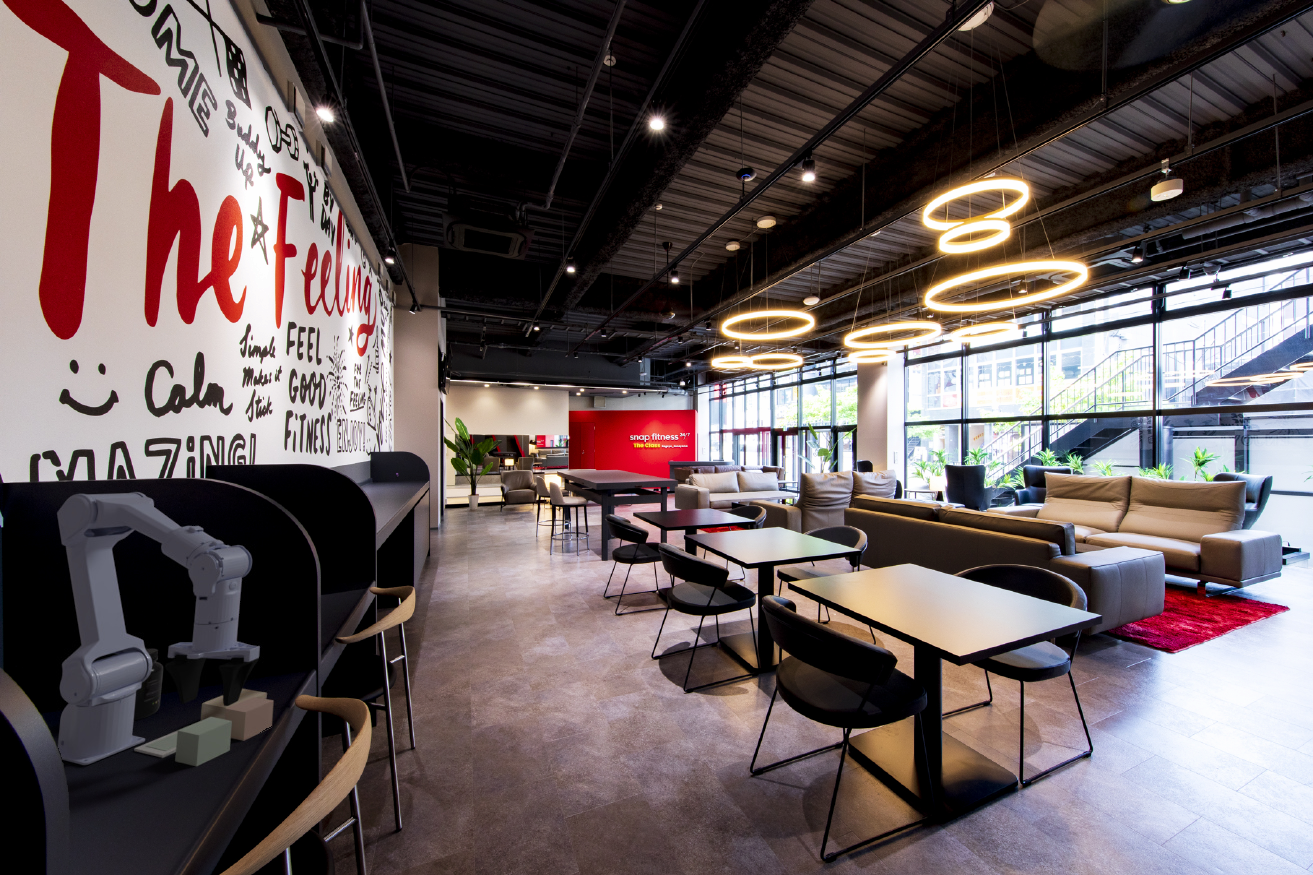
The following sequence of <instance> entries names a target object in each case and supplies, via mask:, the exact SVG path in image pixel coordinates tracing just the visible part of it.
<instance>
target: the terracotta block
mask: <svg viewBox="0 0 1313 875" xmlns="http://www.w3.org/2000/svg"><path fill="white" fill-rule="evenodd" d="M274 701H275V700H273V699H267V698H266V699H263V698H257V697H252V698H250V699H247V700H245V701H243V702H240V703H238V704H235V705H233V706H230V707H228V708H226V709H225V720H229V721H232V727H231V739H234V740H239V741H244V742H245V741H246V740H249V739H250V738H252V737H254V736H256V735H258V734H261V733H263V732H264V731H263V730H265V729H266V728H269V727H271V726H272V727H273V714H274ZM272 727H271V728H272ZM269 729H270V728H269ZM262 731H263V732H262ZM265 731H266V730H265ZM260 732H261V733H260Z"/></svg>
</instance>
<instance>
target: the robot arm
mask: <svg viewBox="0 0 1313 875" xmlns="http://www.w3.org/2000/svg"><path fill="white" fill-rule="evenodd" d="M154 506H155V501H154V499H152V498H151V497H148V496H146V494H144V493H142V492H138V491H133V492H129V493H125V492H124V493H122V492H121V493H97V494H93V493H92V494H86V493H76V494H73V495H71V496H69V497H68V498H67V499H66V500H65V501H64V503H63V504H62V506H61V507H60V508H59V510H57V512H56V515H57V520H58V528H59V534H60V540H61V545H62V546H65V550H66V551H65V552H66V556H67V557H66V558H67V563H68V568H69V574H70V581H71V588H72V593H73V594H72V595H73V599H74V601H73V602H74V605H75V606H74V608H75V612H76V613H75V614H76V619H77V624H78V632H79V637H80V644H81V645H80V646H79V647H78V648H77V649H76V650H75V651H74V652H73V653H72V654H71V655H69V656H68V657H67V658H66V659H65V660H64V661H62V664H61V669H62V673H61V674H62V675H61V680H60V684H59V691H60V692H59V693H60V696H61V697H62V699H63V700H64V701H66V703H68V704H67V705H66V706H65V707H64V709H63V711H62V713H61V715H60V722H59V732H58V741H57V749H58V748H59V751H60V753H61V757H62V759H61V760H63V761H67V762H70V763H74V764H76V765H77V764H78V765H82V766H87V765H90V764H93V763H96V762H97V761H100V760H102V759H105V758H107V757H111V756H112V755H115V754H117V753H120V752H122V751H125V750H127V749H129V748H132V747H134V746H137V745H140V744H142V743H145V741H146V738H144V737H140V736H137V735H133V728H134V721H133V720H134V708H135V697H136V690H138V689H140V688H141V684H142V682H143V681H145V680H146V679H147V678H148V677H149V675H150V673H151V670H152V659H151V657H150V655H149V654H148V652H147V651H146V649H147V648H146V647H145V642H144V640H143V639H141V637H140V638H139V637H137V636H134V635H131V634H129V633H127V629H126V625H125V618H124V612H123V607H122V600H121V595H120V594H121V593H120V589H119V583H118V576H117V571H116V566H115V560H114V553H113V548H114V546H115V545H116V544H117V543H118V542H119V541H121V540H123V539H126V537H128V536H129V535H131V533H133V532H134V531H136V532H138V533H140V534H142V535H145V536H147V537H149V538H151V539H152V540H154V541H157V542H158V543H160V544H161V546H160V547H161V548H160V550H161V552H162V554H163V555H165V556H167V557H168V558H170V559H171V560H173V561H175V562H176V563H178V564H179V565H181V566H183V567H184V568H186V569H187V572H188V577H189V578H190V580H191V582H192V585H193V587H192V589H193V590H192V591H193V592H192V593H193V595H194V596H195V597H196V598H195V600H196V601H195V610H194V611H195V612H194V622H193V633H192V641H191V642H189V641H188V642H183V641H182V642H181V641H180V642H178V643H174V644H171V645H169V646H168V649H167V650H168V652H167V658H168V659H172V661H169V662H167V663H165V670H166V671H167V672H168V673H169V675H170V677H171V678H172V680H173V682H174V684H175V686H176V689H177V695H178V697H179V702H180V704H182V705H183V704H187V703H189V702H191V701H193V700H195V699H197V697H198V693H199V688H200V682H201V681H200V680H201V675H202V671H203V668H204V664H206V661H207V659H219V660H230V661H227V662H225V663H223V664H221V665H219V666H218V671H219V672H220V675H221V678H222V679H221V680H222V686H223V690H222V692H223V693H222V695H223V704H224V706H229V705H231V704H233V703H235V702H237V701H238V700H239V697H240V694H241V691H242V689H244V686H245V684H246V681H247V679H248V677H249V675H250V674H251V672H252V670H253V669H254V667H255V666H256V664H257V663H258V662H259V657H260V648H261V647H260V645H258V646H257V645H251V644H247V643H244V642H241V641H238V628H239V616H240V615H239V614H240V605H241V604H240V603H241V602H240V601H241V592H242V581H243V579H242V578H244V577H246V576H247V575H248V574H249V573H250V571H251V569H252V567H253V566H252V565H253V558H252V554H251V553H250V552H249V550H248V549H246V547H245V546H243V545H240V544H237V545H232V546H231V545H229V544H227V545H226V544H225V543H224V542H223V541H222V540H220V539H216V538H214V537H213V536H211V535H209V534H208V533H206V532H205V531H204V528H203V527H201V526H199V525H195V526H194V525H193V526H192V525H186V526H180V525H179V524H178V523H176V522H175V521H174V520H173V519H171V517H170V518H169V517H168V516H167V515H165V513H163V512H162V511H160V510H159V509H157V508H156V507H154ZM111 654H114V655H112V656H108V657H104V658H101V659H99V658H100V657H103V656H106V655H111ZM96 659H98V660H96Z"/></svg>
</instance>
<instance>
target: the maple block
mask: <svg viewBox="0 0 1313 875" xmlns="http://www.w3.org/2000/svg"><path fill="white" fill-rule="evenodd" d="M267 695H268V693H267V692H264V691H263V692H262V691H257V690H252V689H246V688H242V691H241V694H240V697H239V700H238V701H237V702H235V703H233V704H231V705H229V706H224V704H223V694H222V695H220V696H217V697H215V698H211V699H210V700H207V701H205V702H203V703H201V710H200V711H201V712H200V721H202V720H204V719H207V718H209V717H215V718H220V719H225V709H226V708H228V707H230V706H233V705H235V704H238V703H240V702H243V701H245V700H247V699H250V698H252V697H257V698H263V699H267Z"/></svg>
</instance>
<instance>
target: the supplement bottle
mask: <svg viewBox="0 0 1313 875" xmlns="http://www.w3.org/2000/svg"><path fill="white" fill-rule="evenodd" d="M145 649H146V651H147V652H148V654H149V655H150V657H151V659H152V670H151V673H150V675H149V677H148V678H147V679H146V680H145V681H143V682H142V684H141V688H140V689H138V690H136V697H135V708H134V720H133V722H135V721H138V720H142V719H145V718H147V717H150V716H152V715H154V714H155V713H156V712H157V711H158V710H159V709H160V706H161V697H162V696H161V695H162V694H161V693H162V687H163V686H162V684H163V677H164V676H163V675H164V674H163V673H164V666H163V664H161V663H160V662H157V661H158V658H159V656H158V654H159V650H158V649H157V648H145Z"/></svg>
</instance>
